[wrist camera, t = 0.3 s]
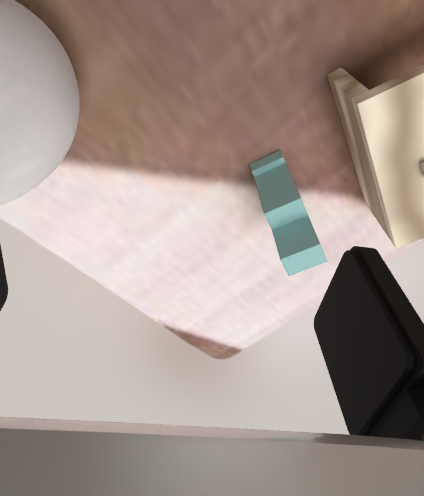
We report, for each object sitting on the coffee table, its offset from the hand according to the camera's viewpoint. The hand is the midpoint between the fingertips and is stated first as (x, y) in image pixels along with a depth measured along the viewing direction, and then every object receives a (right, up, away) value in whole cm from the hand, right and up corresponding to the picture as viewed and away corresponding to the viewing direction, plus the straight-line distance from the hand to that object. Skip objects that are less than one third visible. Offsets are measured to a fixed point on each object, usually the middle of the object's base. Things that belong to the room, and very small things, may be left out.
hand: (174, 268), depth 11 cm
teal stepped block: (+9, +9, +40) cm, 42 cm away
